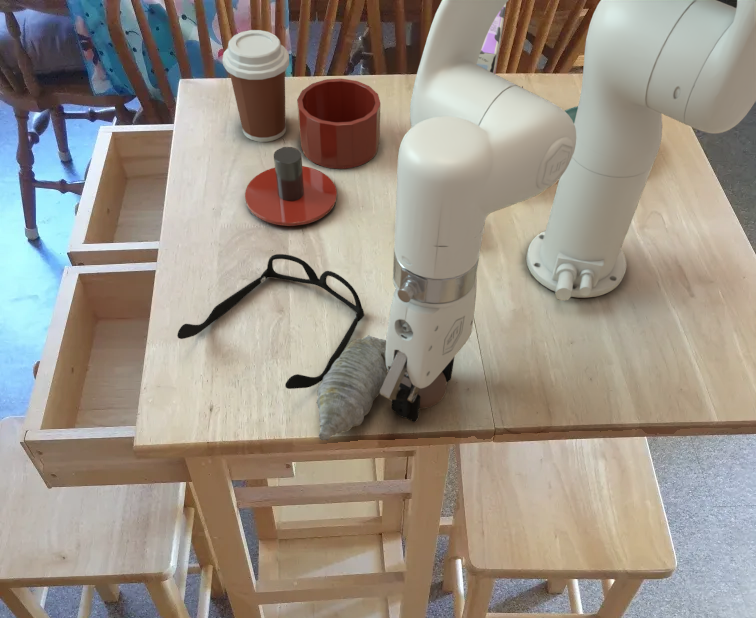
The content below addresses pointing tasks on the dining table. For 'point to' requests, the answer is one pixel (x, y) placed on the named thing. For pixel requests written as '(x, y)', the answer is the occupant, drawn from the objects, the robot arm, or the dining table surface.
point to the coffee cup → (258, 82)
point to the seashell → (351, 386)
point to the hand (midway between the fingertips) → (421, 393)
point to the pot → (339, 123)
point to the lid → (290, 191)
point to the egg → (430, 391)
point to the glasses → (227, 304)
